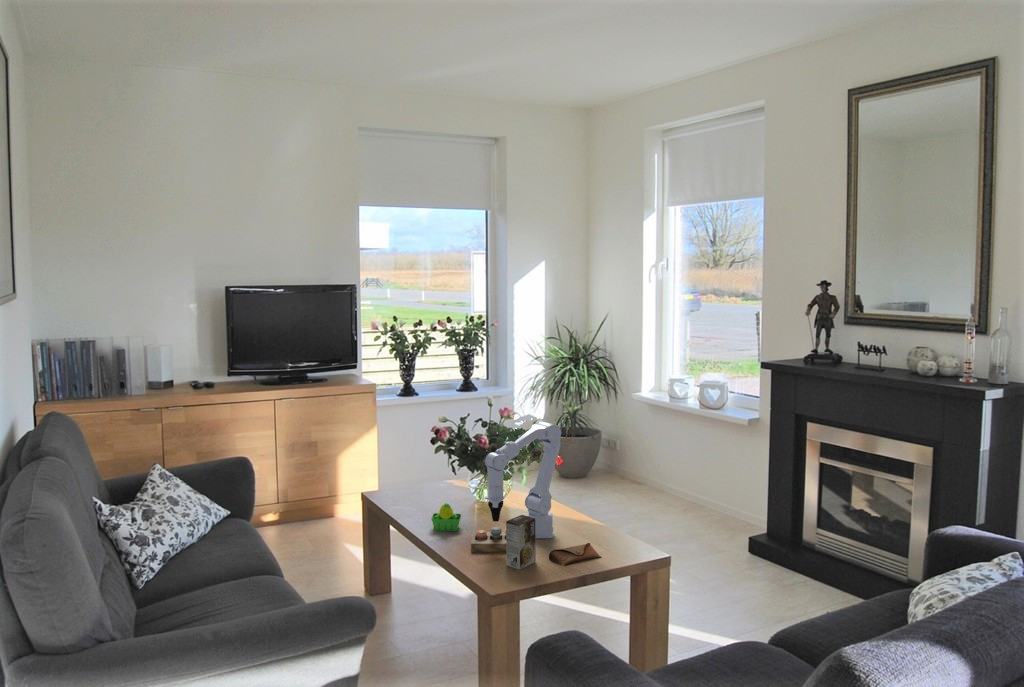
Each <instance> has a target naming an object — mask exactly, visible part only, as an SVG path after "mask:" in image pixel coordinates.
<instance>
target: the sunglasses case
mask: <svg viewBox="0 0 1024 687" xmlns="http://www.w3.org/2000/svg"><path fill="white" fill-rule="evenodd" d="M595 558H596V559H600V558H602V556H601V555H599V553H598V552H597V550H595V548H594V547H593V546H592V545H591V543H590V542H587V543H584V544H581V545H574V546H570V547H566V548H559V549H553V550H552V551H550V552H549V554H548V559H549V561H551V562H552V563H555V564H556V565H559V566H562V567H566V566H568V565H572V564H577V563H581V562H585V561H589V560H590V561H591V560H594V559H595ZM596 559H595V560H596Z"/></svg>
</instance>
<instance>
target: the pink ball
mask: <svg viewBox="0 0 1024 687" xmlns="http://www.w3.org/2000/svg"><path fill="white" fill-rule="evenodd" d="M475 532H476V537H477V538H478V540H485V537H487V532H488V531H487V530H485V529H478V530H475Z"/></svg>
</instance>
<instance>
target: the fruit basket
mask: <svg viewBox="0 0 1024 687" xmlns="http://www.w3.org/2000/svg"><path fill="white" fill-rule="evenodd" d="M461 517H462V514H461V513H454V509H453V508H452V506H451V505H450V504H449V503H448V502H445V503H444V504H442V505H441V507H440V509H439V513H438V512H436V513H435V512H434V513H432V516H431V518H430V519H431V522H432V526H433V529H434V531H440V532H441V531H444V532H445V531H452V532H453V531H454V532H457V531H458V529H459V525H460V521H461Z"/></svg>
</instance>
